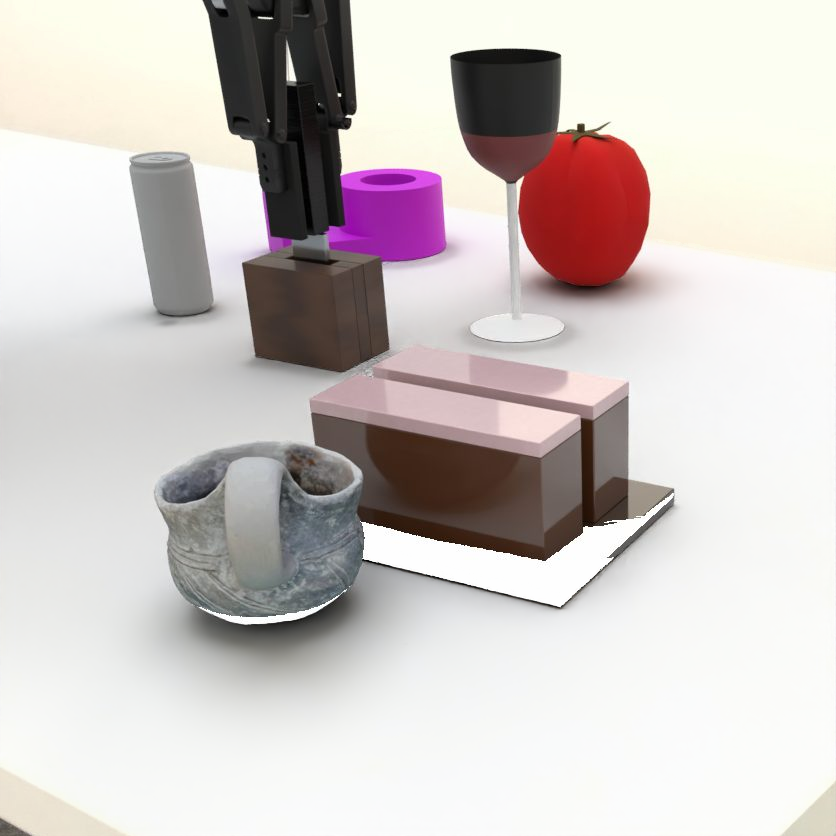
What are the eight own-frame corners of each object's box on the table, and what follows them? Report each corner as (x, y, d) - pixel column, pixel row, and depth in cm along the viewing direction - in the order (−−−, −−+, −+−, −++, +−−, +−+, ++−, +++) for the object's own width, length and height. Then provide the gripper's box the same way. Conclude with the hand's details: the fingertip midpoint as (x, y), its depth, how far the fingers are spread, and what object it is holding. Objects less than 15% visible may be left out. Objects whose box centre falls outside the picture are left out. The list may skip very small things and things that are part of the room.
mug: (352, 549, 72) (332, 372, 67) (412, 660, 62) (394, 462, 57) (168, 581, 69) (131, 397, 64) (200, 704, 59) (161, 498, 54)
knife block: (255, 356, 100) (241, 262, 96) (305, 334, 104) (293, 243, 101) (342, 372, 97) (331, 276, 93) (389, 348, 102) (381, 256, 98)
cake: (273, 538, 73) (253, 404, 69) (415, 450, 84) (405, 330, 80) (560, 608, 67) (556, 465, 63) (674, 503, 78) (677, 375, 74)
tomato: (530, 305, 111) (524, 139, 105) (513, 266, 122) (507, 113, 115) (665, 298, 113) (668, 135, 107) (637, 261, 124) (638, 110, 117)
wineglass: (453, 340, 103) (434, 62, 93) (484, 308, 111) (470, 47, 100) (552, 347, 102) (545, 65, 92) (577, 314, 109) (573, 50, 99)
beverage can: (178, 297, 113) (153, 149, 107) (227, 303, 111) (204, 153, 105) (142, 313, 109) (113, 160, 103) (192, 319, 107) (166, 164, 101)
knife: (299, 353, 101) (265, 83, 91) (314, 346, 102) (282, 79, 92) (332, 358, 99) (300, 86, 90) (346, 352, 101) (317, 82, 91)
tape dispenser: (429, 230, 133) (425, 165, 130) (458, 254, 125) (454, 185, 122) (267, 245, 127) (258, 178, 124) (287, 272, 120) (278, 200, 117)
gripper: (221, -146, 76) (275, 264, 88) (390, -146, 89) (417, 212, 101) (121, -147, 79) (187, 251, 91) (299, -146, 92) (336, 201, 104)
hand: (308, 229), depth 96 cm, fingers open, 4 cm apart
